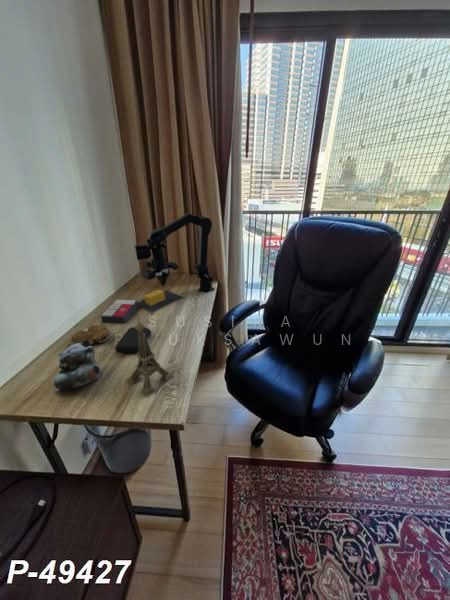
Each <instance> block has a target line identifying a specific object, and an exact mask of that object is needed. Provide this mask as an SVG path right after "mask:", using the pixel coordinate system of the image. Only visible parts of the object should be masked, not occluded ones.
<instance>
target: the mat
mask: <svg viewBox="0 0 450 600" xmlns="http://www.w3.org/2000/svg"><path fill="white" fill-rule="evenodd" d="M164 294H165V300H163V301H161V302H158V303H156V304H154V305H152V306H150V305H148V304H146V302H145V299H144V300H141V301H139V302H138V306H139V307H140V308H141V309H144V310H146V311H147V312H150V313H154V312H156V311H159V310H160V309H162V308H164V307H166V306H168V305H171V304H173V303H174V302H176V301H179V300H180V299H182V298H184V297H183V296H181V295H179V294H176V293H173V292H171V291H168V290H164Z"/></svg>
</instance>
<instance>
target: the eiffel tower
mask: <svg viewBox="0 0 450 600" xmlns="http://www.w3.org/2000/svg"><path fill="white" fill-rule="evenodd" d="M136 317H137V324H135V325H134V326H135V329H137V330H138V342H139V351H138V354H136V355H137V356H136V358H137V359H138V363H137V365H135V366H136V369H135V370H134V371H133V372H132V374H131V375H130V377H129V378H128V379H127V382H129V383H130V384H132V385H133V384H135V383H136V382H138V381H139V380H140V376H141V375H142V376H143V377H144V378H145V379H144V383H143V386H142V389H141V393H142V394H143V395H144V396H145V397H148V396H150V395H151V394H152V393H154V392H155V390H154V388H153V387H152V382H151V379H150V378H151V376H152V375H153V374H154V373H156V372H157V373H159V374H160V375H161V378H162V379H163V380H165V381H166V382H168V381H170V380H171V379H172V378H174V377H175V375H174V374H172V373H171V372H169V371H167V370H166V369H165V368H163V367H162V366H161V364H160V363H158V362H157V361H156V358H155V357H154V356H155V355H156V354H155V353H154V352H153V351H152V350H151V347H150V345H149V342H148V338H147V339H146V336H145V333H144V331H143V328H146V326H144V324H143V323H142V322H140V319H139V317H138V315H136Z"/></svg>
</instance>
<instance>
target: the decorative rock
mask: <svg viewBox="0 0 450 600" xmlns="http://www.w3.org/2000/svg"><path fill="white" fill-rule="evenodd" d="M110 336H111V333H110V330H109V329H108V328H107V326H105V325H97V324H91V325H89V326H87V327H84V328H82V329H80V330H78V331H76V332H75V333H74V334H73V335H72V336H71V337H70V341H71V342H72V344H73V343H74V344H77V343H83V342H84V341H85V340H88V341H89V343H90V345H93V344H94V343H100V344H101V343H105V342H107V341H108V340H109V337H110Z"/></svg>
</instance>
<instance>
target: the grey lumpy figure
mask: <svg viewBox="0 0 450 600" xmlns="http://www.w3.org/2000/svg"><path fill="white" fill-rule="evenodd" d="M95 354H96V352H95V347H94V346H93V345H91V344H90V343H89V341H88V340H85V341H84V342H83V343H74V344H73V343H69V344H68V345H67V347H66V348H65V349H64V350H61V351H60V353H58V356H59V358H58V368H59V369H60V370H59V372H58V374H57V375H56V376H55V378H54V380H53V386H54V387H55V390H54V391H53V393H59V392H62V391H68V390H74V389H76V388H79V387H83V386H86V385H87V384H89V383H91V382H93V381H96V380H98V379H100V378H102V376H103V374H102V372H101V369H100V367H99V366H98V364H97V362H96V355H95Z"/></svg>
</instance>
